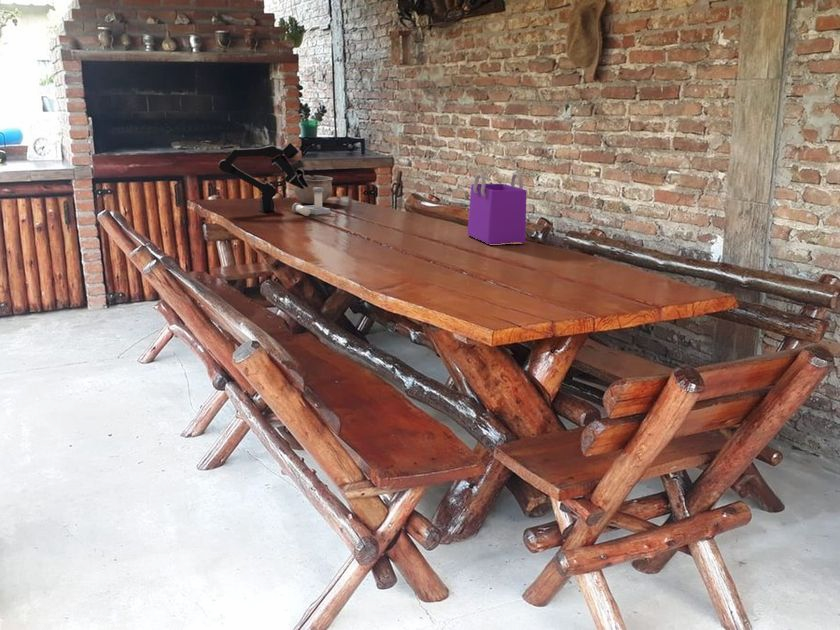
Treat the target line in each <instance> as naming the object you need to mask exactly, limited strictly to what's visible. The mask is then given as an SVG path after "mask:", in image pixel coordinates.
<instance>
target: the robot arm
mask: <svg viewBox="0 0 840 630" xmlns="http://www.w3.org/2000/svg"><path fill="white" fill-rule="evenodd" d="M299 153H300V151H299V150H298V149H297V147H296V146H294V144H293V143H291V142H289V143H288V144H287V145H286V146H285V147H284V148H277V147H276V146H275V145H267V146H262V147H258V148H257V147H255V148H241V149H240V148H239V149H238V148H234V149H231V151H230V153H229V154H228V155H227V156H226V157H225V158H224V159H221V160H219V163H218V167H219V170H220V171H222V172H224V173H227V174H229V175H232V176H235V177H236V178H239V179H240V180H242V181H244V182H246V183H247V184H249V185H250V186H253V187H254V188H256V189H258V190H259V191H260V192H261V194H260V198H261V199H260V200H259V209H258V211H259V212H262V213H272V212H273V213H275V212H276V210H275V202H274V199H273V198H274V197H275V196H276V195H277V189H276V188H275V186H274V185H273V184H272V183H269V182H268V181H267V180H265V182H262V181H260V180H258V179H257V178H255V177H253V176H251V175H249V174H248V173H246V172H244V171H242V170H241V169H239V168H238V167H236V166H235V165H234V164H233V163H234V162H235V160H237V158H239V157H240V158H242V157H259V156H260V157H266V158H271V159H270V161H271V165H275V164H276V166H277V167H279V169H280V170H281V172H282V173H284V174H285V175H286V176H285V177H284V180H285V182H286V183H288V184H289V185H293V186H294V185H295V186H297V187H299V188H301V189H304V187H303V186H305V187H308V184H307V182H306V180H305V179H304V176H305V171H304V169H302V168H304V167H306V163H305V161H304V160H302V159H298V160H297V161H296V162H295V163H293V162H290V161H289V160H292V159H294V157H296V156H297V155H298V154H299ZM278 155H279V156H278Z"/></svg>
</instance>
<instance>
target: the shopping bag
mask: <svg viewBox="0 0 840 630" xmlns="http://www.w3.org/2000/svg"><path fill="white" fill-rule="evenodd" d="M516 178H518V186H516V185H515V184H516V183H515V182H516ZM480 179H481V183H479V180H480ZM469 197H470V198H469V209H468V210H469V211H468V224H467V236H468V235H469V236H472V237H474V238H477V239H479V240H481V241H483V242H486V243H488V244H501V243H511V242H512V243H513V242H521V243H525V244H526V232H527V231H526V229H527V228H526V226H527V189H524V180H523V177H522V174H521V173H519V172H518V171H517V172H514V173H513V174H512V176H511V179H510V185H509V184H507V183H506V184H505V183H486V177H485V175H484V173H482V172H478V173H477V174H476V175H475V177H474V180H473V183H472V184H471V185H470V196H469ZM469 236H468V237H469Z"/></svg>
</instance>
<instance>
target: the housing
mask: <svg viewBox="0 0 840 630" xmlns="http://www.w3.org/2000/svg"><path fill="white" fill-rule="evenodd" d="M303 206H304V207H306V208H308V209H310V214H312V215H315V216H316V215H327V214H331V208H329V207H328V208H327V207H324V206H322V209H315V204H310V205H303Z"/></svg>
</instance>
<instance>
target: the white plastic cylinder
mask: <svg viewBox="0 0 840 630" xmlns="http://www.w3.org/2000/svg"><path fill="white" fill-rule="evenodd" d="M304 206H305V205H303V204H301V203H299V202H295V203H293V204H292V206H291V209H292V211H293V212H294V213H296V214H301V215H303V216H306V217H308V216H309V215H310V214H311V213H310V209H308V208H306V207H304Z"/></svg>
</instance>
